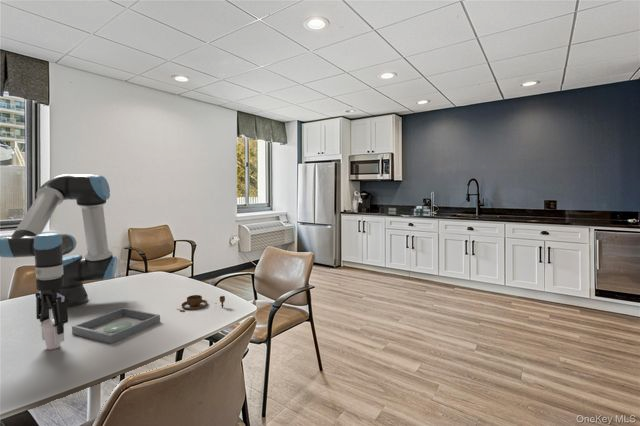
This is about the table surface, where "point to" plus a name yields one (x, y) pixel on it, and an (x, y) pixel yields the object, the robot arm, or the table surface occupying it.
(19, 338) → the table surface
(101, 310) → the table surface
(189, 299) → the place setting
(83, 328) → the grey square frame
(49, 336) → the smoothie
